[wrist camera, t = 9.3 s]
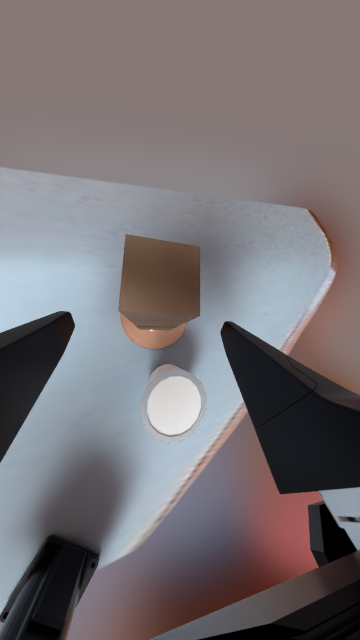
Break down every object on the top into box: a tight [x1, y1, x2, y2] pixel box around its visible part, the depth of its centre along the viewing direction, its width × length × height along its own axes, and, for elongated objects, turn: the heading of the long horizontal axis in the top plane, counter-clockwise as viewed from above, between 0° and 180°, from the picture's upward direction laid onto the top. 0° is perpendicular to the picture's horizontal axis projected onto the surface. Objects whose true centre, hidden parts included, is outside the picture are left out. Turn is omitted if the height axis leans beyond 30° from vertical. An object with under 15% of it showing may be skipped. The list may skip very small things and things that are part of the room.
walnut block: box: [119, 234, 200, 331], centre depth 14 cm, size 4×4×13 cm
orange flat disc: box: [121, 313, 187, 349], centre depth 21 cm, size 10×10×1 cm
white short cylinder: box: [140, 364, 207, 444], centre depth 17 cm, size 7×7×7 cm
